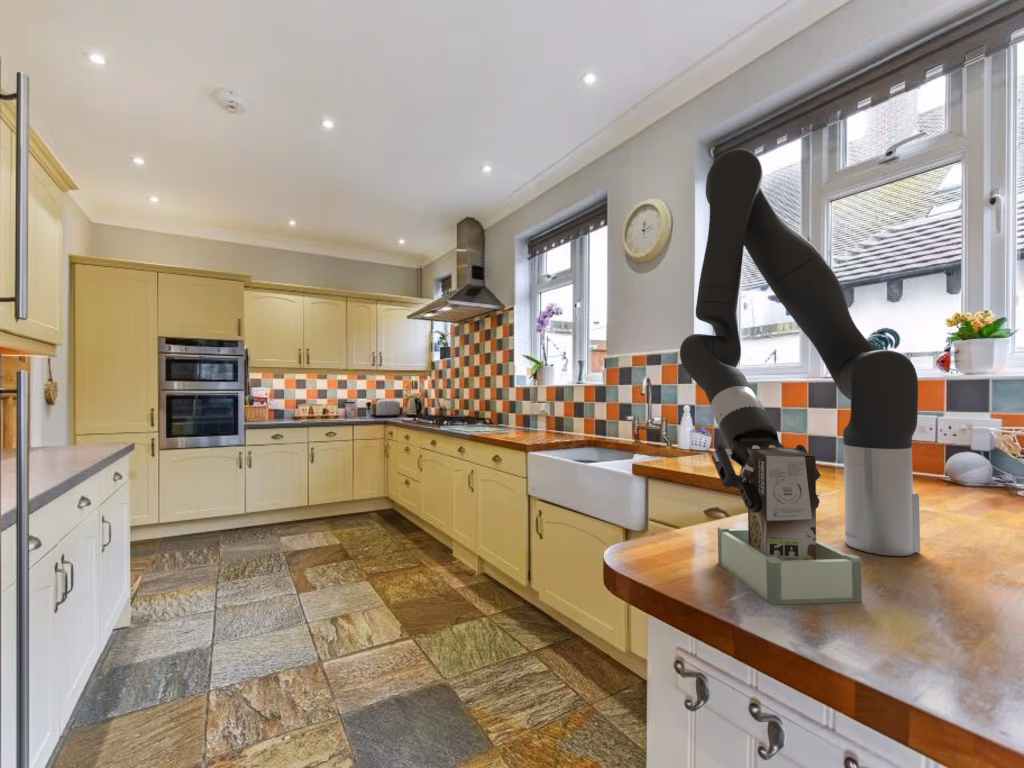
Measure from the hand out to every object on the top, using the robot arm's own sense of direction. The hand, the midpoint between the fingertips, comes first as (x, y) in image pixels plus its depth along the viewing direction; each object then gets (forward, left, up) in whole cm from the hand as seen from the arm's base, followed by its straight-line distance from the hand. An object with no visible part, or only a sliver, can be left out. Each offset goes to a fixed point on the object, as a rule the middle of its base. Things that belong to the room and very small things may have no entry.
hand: (785, 509), depth 67 cm
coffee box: (0, -1, -8) cm, 8 cm away
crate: (0, -1, -10) cm, 10 cm away
